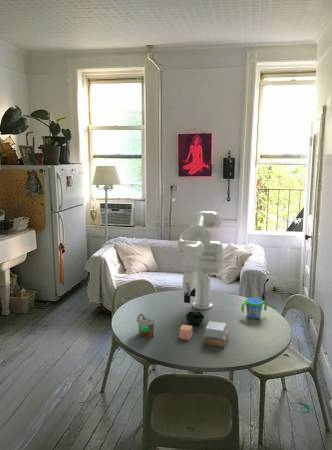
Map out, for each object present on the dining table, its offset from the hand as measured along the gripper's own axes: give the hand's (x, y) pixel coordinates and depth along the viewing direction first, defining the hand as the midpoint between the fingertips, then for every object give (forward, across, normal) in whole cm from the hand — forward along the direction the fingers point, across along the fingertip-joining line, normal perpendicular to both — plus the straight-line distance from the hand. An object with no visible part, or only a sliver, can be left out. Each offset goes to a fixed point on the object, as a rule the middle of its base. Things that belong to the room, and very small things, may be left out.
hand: (189, 299), depth 202 cm
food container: (+21, +6, -24) cm, 33 cm away
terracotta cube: (+21, 0, -2) cm, 21 cm away
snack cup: (+21, -38, +29) cm, 52 cm away
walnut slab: (+22, -1, +14) cm, 26 cm away
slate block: (+17, 0, +14) cm, 22 cm away
